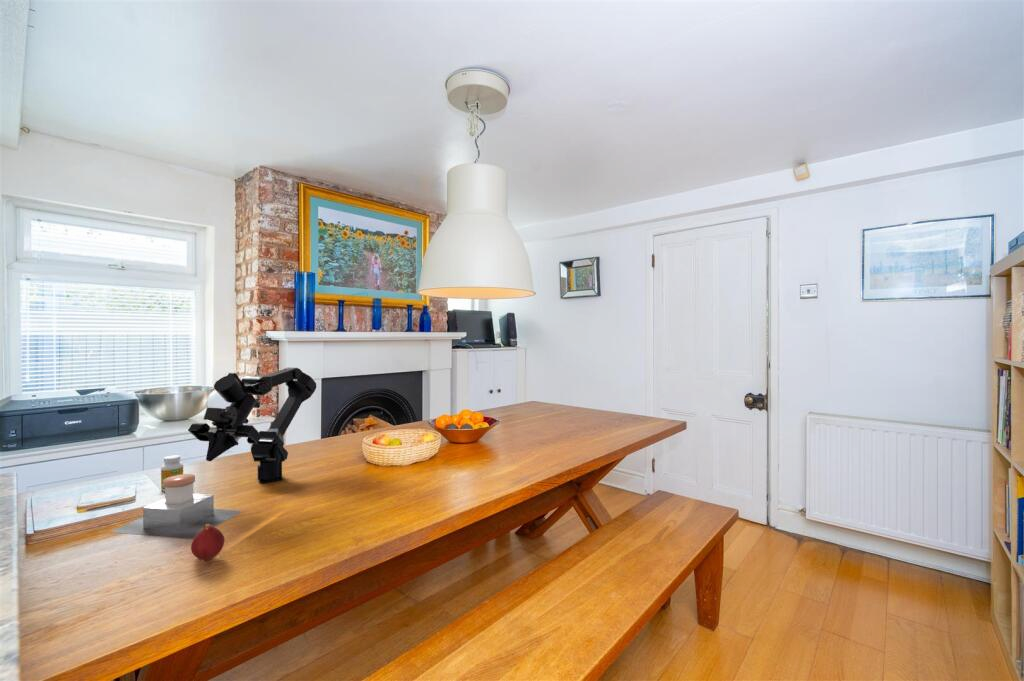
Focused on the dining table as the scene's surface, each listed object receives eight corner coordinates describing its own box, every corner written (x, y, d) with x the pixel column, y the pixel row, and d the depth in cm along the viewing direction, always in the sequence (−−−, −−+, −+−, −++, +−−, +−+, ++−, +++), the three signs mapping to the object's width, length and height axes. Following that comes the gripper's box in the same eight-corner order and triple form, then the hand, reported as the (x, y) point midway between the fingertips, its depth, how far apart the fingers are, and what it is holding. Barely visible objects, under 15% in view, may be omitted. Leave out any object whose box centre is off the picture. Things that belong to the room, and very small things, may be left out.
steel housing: (179, 511, 118) (179, 492, 118) (213, 513, 116) (213, 494, 116) (143, 528, 108) (142, 507, 108) (180, 531, 107) (179, 510, 106)
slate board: (169, 508, 122) (169, 505, 122) (243, 514, 119) (243, 510, 119) (108, 535, 106) (108, 531, 106) (192, 543, 103) (192, 539, 103)
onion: (202, 554, 98) (201, 518, 98) (229, 553, 98) (229, 517, 98) (185, 568, 92) (184, 530, 92) (214, 567, 93) (214, 529, 92)
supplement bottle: (171, 492, 134) (171, 460, 133) (156, 490, 135) (156, 458, 134) (187, 486, 139) (187, 455, 138) (173, 484, 140) (173, 453, 140)
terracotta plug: (179, 499, 116) (179, 473, 115) (201, 500, 115) (201, 474, 115) (156, 509, 109) (156, 481, 109) (179, 510, 108) (179, 483, 108)
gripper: (193, 394, 127) (157, 443, 116) (253, 396, 124) (222, 446, 113) (215, 416, 135) (184, 464, 124) (272, 419, 132) (245, 468, 121)
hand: (208, 460), depth 121 cm, fingers closed
